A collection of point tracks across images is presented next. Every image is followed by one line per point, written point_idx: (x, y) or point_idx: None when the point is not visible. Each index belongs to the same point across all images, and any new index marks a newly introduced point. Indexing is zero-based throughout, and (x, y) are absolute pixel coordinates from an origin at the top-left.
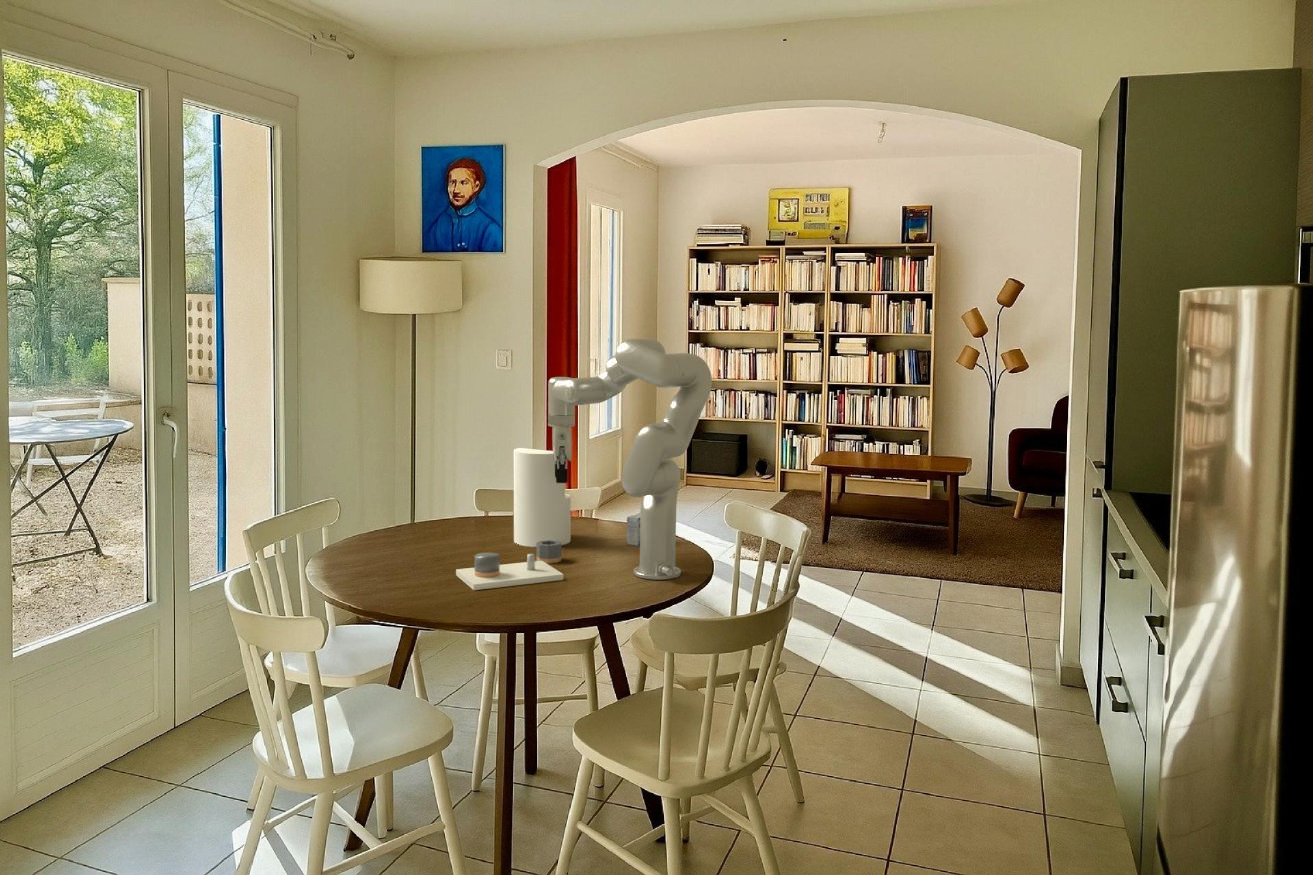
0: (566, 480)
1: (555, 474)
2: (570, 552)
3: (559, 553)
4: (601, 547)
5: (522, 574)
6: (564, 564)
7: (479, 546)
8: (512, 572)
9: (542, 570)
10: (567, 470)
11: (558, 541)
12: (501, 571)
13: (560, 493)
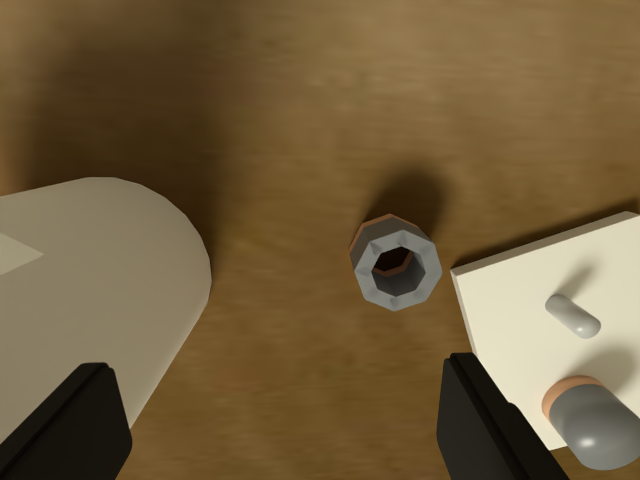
0: (481, 374)
1: (118, 469)
2: (285, 181)
3: (408, 225)
4: (206, 60)
5: (603, 323)
6: (444, 204)
7: (211, 423)
8: (574, 347)
9: (576, 273)
10: (558, 476)
11: (380, 239)
12: (554, 372)
13: (50, 299)
